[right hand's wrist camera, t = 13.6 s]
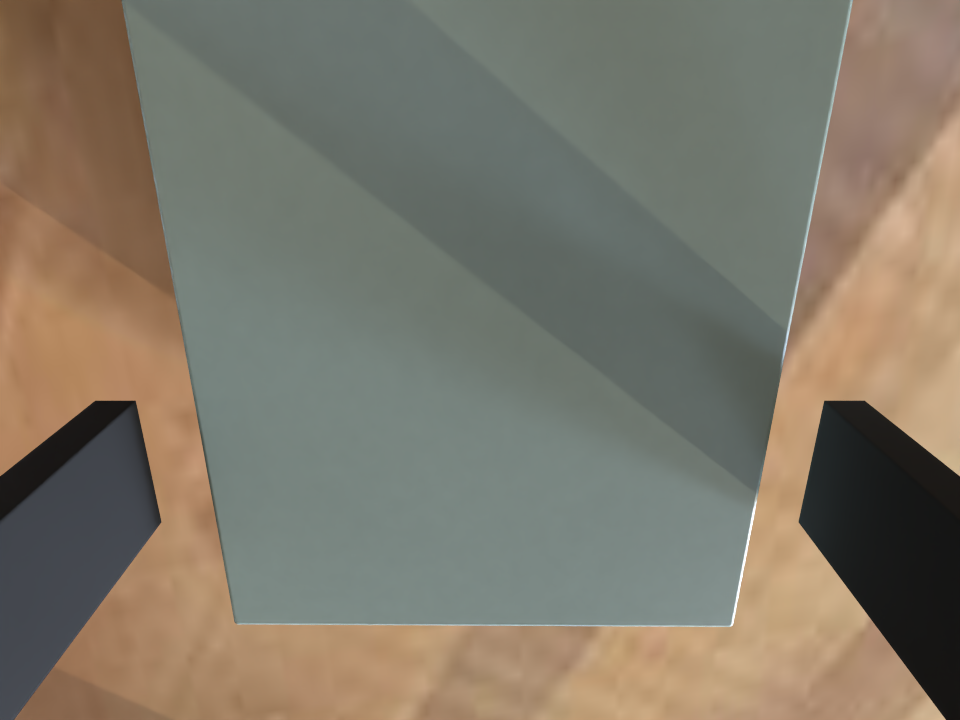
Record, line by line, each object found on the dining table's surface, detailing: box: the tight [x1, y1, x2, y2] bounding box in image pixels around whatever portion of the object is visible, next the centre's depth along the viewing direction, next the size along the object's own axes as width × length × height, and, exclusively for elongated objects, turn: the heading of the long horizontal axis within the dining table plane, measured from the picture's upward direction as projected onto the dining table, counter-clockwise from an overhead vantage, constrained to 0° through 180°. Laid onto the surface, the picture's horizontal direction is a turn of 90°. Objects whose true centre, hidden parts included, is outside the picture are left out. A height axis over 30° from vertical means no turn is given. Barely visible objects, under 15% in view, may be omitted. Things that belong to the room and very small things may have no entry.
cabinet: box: [122, 0, 853, 627], centre depth 15 cm, size 20×11×10 cm, turn 0°
